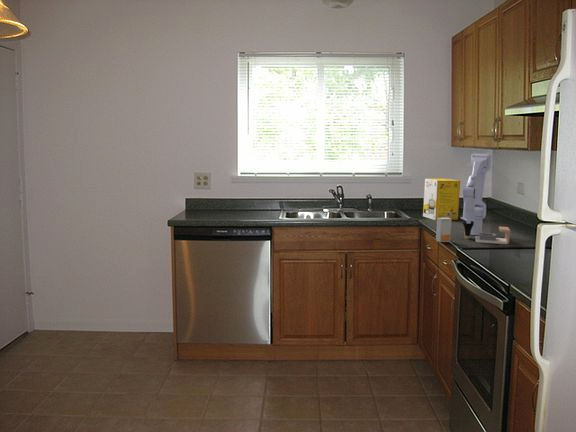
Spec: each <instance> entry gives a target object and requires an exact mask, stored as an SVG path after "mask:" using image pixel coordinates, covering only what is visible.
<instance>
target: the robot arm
mask: <svg viewBox="0 0 576 432" xmlns="http://www.w3.org/2000/svg"><path fill="white" fill-rule="evenodd" d="M470 164H471V166H472V172H471V175H469V177H468V179H467V182H466V185H465V187H463V190H462V197H463V198H462V200H463V210H462V211H463V212H462V216H460V220H462V224H463V227H464V232H465V236H470V233H471V236H480V233H483V229H482V228H483V219H485V218H486V216H487V204H486V203H485V202H484V201H483V194H484V187H485V180H486V175H487V172H489V171H490V170H491V167H492V165H491V164H492V155H491V153H474V152H473V153H472V154H471V157H470Z"/></svg>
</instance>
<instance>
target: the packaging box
mask: <svg viewBox="0 0 576 432" xmlns="http://www.w3.org/2000/svg"><path fill="white" fill-rule="evenodd" d="M460 190H461V180H458V179H452V178H424V192H423V193H424V194H423V209H422V217H425V218H427V219H430V220H433V221H437V218H451V219H452V220H453V221H455V220H458V219H459V206H460Z"/></svg>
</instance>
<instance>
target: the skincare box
mask: <svg viewBox="0 0 576 432" xmlns="http://www.w3.org/2000/svg"><path fill="white" fill-rule="evenodd" d="M435 229H436V230H435V233H436V235H435V241H436V242H438V243H451V234H452V233H451V232H452V231H451V230H452V219H451V218H437V220H436V228H435Z"/></svg>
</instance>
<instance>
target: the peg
mask: <svg viewBox="0 0 576 432" xmlns="http://www.w3.org/2000/svg"><path fill="white" fill-rule="evenodd" d="M471 236H472V235H471V233H470V236H465V231H464V235H463V238H464V239H465V240H471Z"/></svg>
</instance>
